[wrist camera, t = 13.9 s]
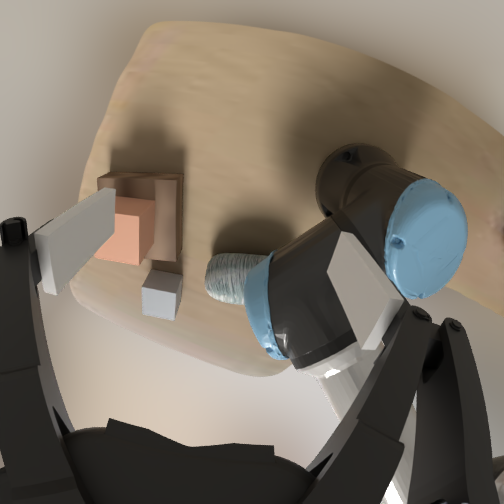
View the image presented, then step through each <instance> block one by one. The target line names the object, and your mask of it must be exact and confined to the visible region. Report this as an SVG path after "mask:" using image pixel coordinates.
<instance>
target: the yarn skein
mask: <svg viewBox="0 0 504 504" xmlns="http://www.w3.org/2000/svg"><path fill="white" fill-rule="evenodd" d="M267 257H268V256H264V255H254V254H241V253H223V254H218V255H215V256H213V257H212V258H211V260H210V261H209V263H208V266H207V270H206V276H205V289H206V291H207V292H208V294H209V295H210V296H211V297H212V298H215V299H216V300H219V301H222V302H226V303H231V304H239V305H245V303H244V293H243V292H244V282H245V279H246V276H247V274H248V272H249V271H250V270H251V269H252V268H253V267H254V266H256V265H257V264H259V263H260V262H261V261H263V260H264V259H265V258H267Z"/></svg>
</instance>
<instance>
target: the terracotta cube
mask: <svg viewBox="0 0 504 504" xmlns="http://www.w3.org/2000/svg"><path fill="white" fill-rule="evenodd" d="M154 218H155V201H154V200H146V199H137V198H129V197H120V196H115V228H114V234H113V235H112V236H111V237H110V238H109V239H108V240H107V241H106V242H105V243H104V244H103V245H102V246H101V247H100V248H99V249H98V250H97V252H96V253H95V258H99V259H105V260H110V261H116V262H121V263H127V264H133V265H138V266H139V265H140V264H141V262H142V261H143V259H144V257H145V256H146V254H147V253H148V251H149V250H150V248H151V247H152V245H153V244H154Z"/></svg>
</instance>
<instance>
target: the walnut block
mask: <svg viewBox="0 0 504 504" xmlns="http://www.w3.org/2000/svg"><path fill="white" fill-rule="evenodd" d="M97 186H98V191H99V190H101V189H103V188H104V187H105V188H112V189H116V194H115V196H120V197H129V198H137V199H146V200H154V201H155V218H154V244H153V245H152V247H151V248H150V250H149V251H148V253H147V254H146V256H145V257H144V259H153V260H163V261H173V262H176V261H177V258H178V256H179V254H180V252H181V250H182V199H183V174H169V173H140V172H109V173H107V174H105V175H103V176H101V177H99V178H97Z"/></svg>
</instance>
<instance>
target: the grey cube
mask: <svg viewBox="0 0 504 504" xmlns="http://www.w3.org/2000/svg"><path fill="white" fill-rule="evenodd" d="M182 279H183V275H180V274H174V273H169V272H164V271H159V270H153V269H151V271H150V273H149V275H148V276H147V278H146V280H145V282H144V284H143V285H142V314H144V315H149V316H153V317H158V318H163V319H168V320H173V321H175V318H176V314H177V311H178V308H179V305H180V302H181V290H182Z"/></svg>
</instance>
